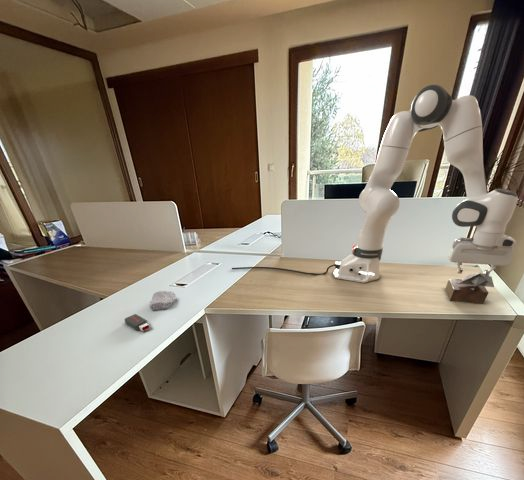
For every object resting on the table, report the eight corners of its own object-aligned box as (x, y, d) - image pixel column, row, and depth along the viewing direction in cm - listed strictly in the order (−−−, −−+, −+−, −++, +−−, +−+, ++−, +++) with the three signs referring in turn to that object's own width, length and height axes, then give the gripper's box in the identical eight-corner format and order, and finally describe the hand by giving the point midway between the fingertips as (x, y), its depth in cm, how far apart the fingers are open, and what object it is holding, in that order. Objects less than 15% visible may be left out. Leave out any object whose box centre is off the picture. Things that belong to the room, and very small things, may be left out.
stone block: (177, 300, 133) (155, 298, 131) (177, 291, 130) (154, 288, 129) (173, 313, 124) (149, 311, 122) (172, 304, 121) (148, 301, 119)
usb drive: (137, 318, 117) (135, 312, 116) (152, 327, 111) (150, 321, 109) (125, 323, 114) (123, 317, 113) (140, 333, 108) (138, 327, 106)
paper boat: (500, 269, 110) (493, 286, 107) (498, 281, 114) (490, 298, 111) (464, 266, 117) (456, 282, 115) (463, 278, 122) (455, 293, 119)
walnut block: (449, 300, 118) (454, 289, 115) (445, 289, 127) (449, 278, 124) (483, 304, 114) (488, 292, 111) (476, 291, 123) (481, 280, 120)
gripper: (457, 239, 107) (444, 274, 115) (522, 242, 101) (504, 279, 109) (454, 235, 112) (442, 269, 120) (516, 237, 106) (499, 273, 114)
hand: (472, 274), depth 115 cm, fingers open, 8 cm apart
